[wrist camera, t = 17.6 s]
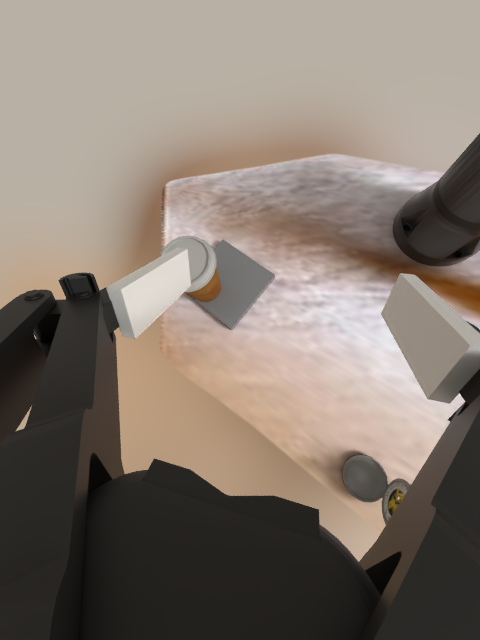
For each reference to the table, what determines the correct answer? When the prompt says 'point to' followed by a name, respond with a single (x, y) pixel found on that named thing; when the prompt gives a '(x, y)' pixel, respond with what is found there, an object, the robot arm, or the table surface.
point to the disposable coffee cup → (199, 267)
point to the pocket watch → (373, 484)
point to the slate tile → (236, 284)
